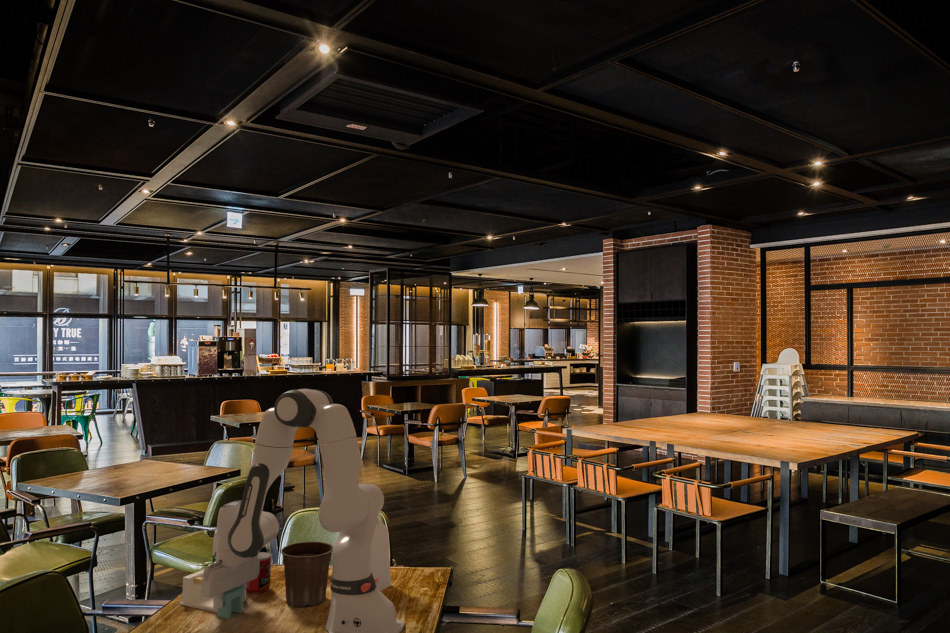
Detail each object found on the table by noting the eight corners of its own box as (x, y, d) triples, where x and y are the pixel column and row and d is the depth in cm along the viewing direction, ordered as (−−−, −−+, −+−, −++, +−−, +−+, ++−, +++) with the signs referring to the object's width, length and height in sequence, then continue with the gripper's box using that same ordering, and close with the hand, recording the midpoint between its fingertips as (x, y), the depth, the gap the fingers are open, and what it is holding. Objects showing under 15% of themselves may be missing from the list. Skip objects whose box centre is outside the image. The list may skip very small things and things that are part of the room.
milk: (390, 585, 215) (391, 507, 217) (370, 596, 205) (370, 514, 207) (362, 579, 221) (363, 503, 222) (340, 590, 210) (341, 510, 212)
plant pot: (342, 594, 207) (342, 543, 208) (315, 613, 192) (316, 558, 193) (298, 588, 212) (299, 539, 213) (269, 606, 197) (270, 553, 198)
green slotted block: (242, 611, 193) (243, 587, 193) (227, 618, 188) (228, 594, 188) (232, 609, 195) (233, 585, 195) (217, 616, 189) (218, 592, 190)
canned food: (262, 594, 207) (263, 559, 207) (240, 592, 208) (241, 558, 209) (274, 586, 214) (275, 552, 215) (253, 584, 216) (253, 551, 216)
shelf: (245, 599, 202) (246, 573, 203) (217, 612, 192) (218, 585, 192) (208, 592, 209) (209, 567, 209) (179, 604, 198) (180, 578, 199)
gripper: (212, 567, 181) (211, 617, 181) (263, 548, 200) (262, 593, 199) (196, 564, 184) (194, 613, 183) (248, 545, 203) (247, 590, 202)
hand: (230, 602), depth 191 cm, fingers closed on green slotted block, 6 cm apart
